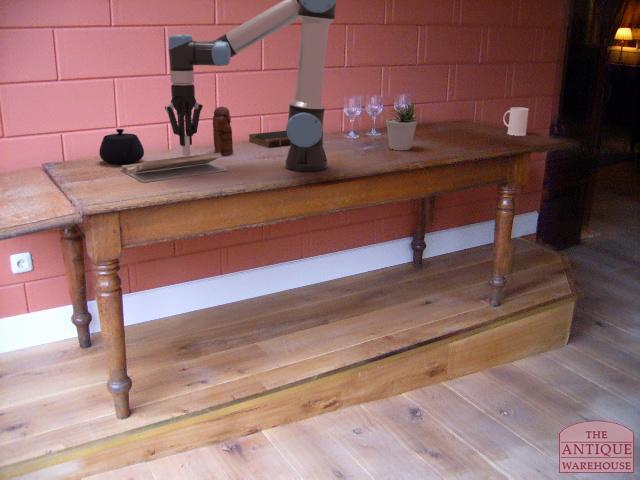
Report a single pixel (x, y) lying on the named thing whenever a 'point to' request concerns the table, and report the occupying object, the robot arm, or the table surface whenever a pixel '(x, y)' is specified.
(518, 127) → the mug
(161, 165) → the plank
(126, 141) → the teapot
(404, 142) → the potted plant
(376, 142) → the table surface
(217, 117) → the wooden figurine
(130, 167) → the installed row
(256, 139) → the book
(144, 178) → the tray
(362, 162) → the table surface
